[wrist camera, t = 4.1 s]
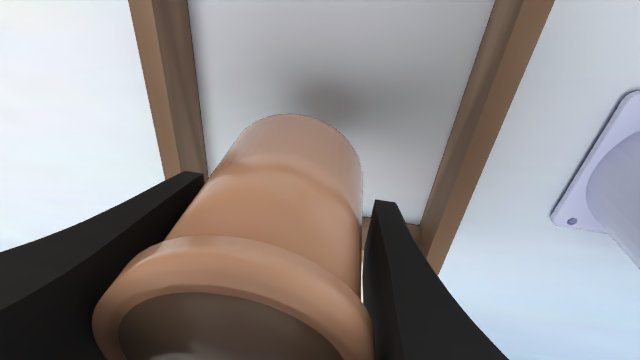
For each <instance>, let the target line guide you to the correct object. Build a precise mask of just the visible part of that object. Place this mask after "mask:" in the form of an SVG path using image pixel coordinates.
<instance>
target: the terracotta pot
mask: <svg viewBox="0 0 640 360" xmlns="http://www.w3.org/2000/svg"><path fill="white" fill-rule="evenodd" d="M362 196H363V174H362V167H361V163H360V160H359V157H358V155H357V153H356V151H355V150H354V148H353V147H352V145H351V144H350V142H349V141H348V140H347V139H346V138H345V137H344V136H343V135H342V134H341V133H340V132H338V131H337V130H336V129H335V128H333V127H331V126H330V125H328V124H326V123H324V122H322V121H320V120H318V119H315V118H312V117H308V116H303V115H298V114H279V115H274V116H269V117H266V118H263V119H261V120H259V121H257V122H255V123H253V124H252V125H250V126H249V127H247V128H246V129H245V130H244V131H243V132H242V133H241V134H240V136H239V137H238V138H237V140H236V141H235V142H234V144H233V145H232V147H231V148H230V149H229V151H228V152H227V154H226V155H225V156H224V158H223V159H222V160H221V162H220V163H219V165H218V166H217V167H216V169H215V170H214V172H213V173H212V174H211V176H210V177H209V179H208V180H207V181H206V183H205V184H204V186H203V187H202V188H201V190H200V191H199V193H198V194H197V195H196V197H195V198H194V199H193V201H192V202H191V204H190V205H189V206H188V208H187V209H186V211H185V212H184V213H183V215H182V216H181V218H180V219H179V220H178V222H177V223H176V225H175V226H174V227H173V229H172V230H171V232H170V233H169V234H168V236H167V237H166V238H165V240H164V241H163V242H161V243H158V244H156V245H153V246H151V247H149V248H147V249H145V250H144V251H142V252H140V253H139V254H137V255H136V256H135V257H134V258H133V259H132V260H131V261H130V262H129V263H128V264H127V265H126V267H125V268H124V269H123V270H122V272H121V273H120V274H119V276H118V277H117V278H116V279H115V281H114V282H113V283H112V285H111V286H110V287H109V288H108V290H107V291H106V292H105V294H104V295H103V296H102V297H101V299H100V300H99V302H98V303H97V305H96V306H95V309H94V312H93V315H92V330H93V336H94V338H95V341H96V343H97V345H98V347H99V349H100V350H101V352H102V354H103V355H104V357H105V358H106V359H107V360H375V331H374V327H373V323H372V319H371V317H370V315H369V313H368V311H367V309H366V307H365V306H364V305H363V303H362V302H361V270H362Z"/></svg>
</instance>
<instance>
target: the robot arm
mask: <svg viewBox="0 0 640 360" xmlns="http://www.w3.org/2000/svg"><path fill="white" fill-rule="evenodd" d="M204 184H205V182H204V174H203V173H197V172H190V171H184V172H181V173H179V174H177V175H175V176H173V177H171V178H169V179H167V180H165V181H163V182H161V183H160V184H158V185H156V186H154V187H152V188H150V189H148V190H146V191H144V192H143V193H141V194H139V195H137V196H135V197H133V198H131V199H129V200H127V201H125V202H123V203H121V204H119V205H117V206H115V207H113V208H111V209H109V210H107V211H105V212H102V213H100V214H98V215H96V216H94V217H92V218H90V219H88V220H86V221H83V222H81V223H79V224H76V225H74V226H72V227H69V228H67V229H64V230H62V231H59V232H57V233H54V234H52V235H49V236H46V237H44V238H41V239H38V240H36V241H33V242H30V243H27V244H24V245H21V246H18V247H15V248H12V249H9V250H6V251H3V252H0V360H107V359H106V358H105V357H104V355H103V354H102V352H101V350H100V349H99V347H98V345H97V343H96V341H95V338H94V336H93V330H92V315H93V312H94V309H95V306H96V305H97V303H98V302H99V300H100V299H101V297H102V296H103V295H104V294H105V292H106V291H107V290H108V288H109V287H110V286H111V285H112V283H113V282H114V281H115V279H116V278H117V277H118V276H119V274H120V273H121V272H122V270H123V269H124V268H125V267H126V265H127V264H128V263H129V262H130V261H131V260H132V259H133V258H134V257H135V256H136V255H137V254H139V253H140V252H142V251H144V250H145V249H147V248H149V247H151V246H153V245H156V244H158V243H161V242H163V241H164V240H165V238H166V237H167V236H168V234H169V233H170V232H171V230H172V229H173V227H174V226H175V225H176V223H177V222H178V220H179V219H180V218H181V216H182V215H183V213H184V212H185V211H186V209H187V208H188V206H189V205H190V204H191V202H192V201H193V199H194V198H195V197H196V195H197V194H198V193H199V191H200V190H201V188H202V187H203V186H204ZM571 218H573V219H572V220H569V219H571ZM568 220H569V221H568ZM551 221H552V222H553V223H554V224H555V225H556V226H561V227H567V228H574V229H580V230H587V231H594V232H600V233H607V234H610V236H611V237H612V238H613V239H614V240H615V241H616V243H617V244H618V245H619V246H620V247H621V248H622V250H623V251H624V252H625V253H626V254H627V255H628V257H629V258H630V259H631V260H632V261H633V262H634V264H635V265H636V266H637V267H638V268H639V269H640V91H635V92H632V93H630V94H628V95H627V96H625V97H624V99H623V100H622V101H621V103H620V104H619V106H618V108H617V109H616V111H615V113H614V114H613V116H612V117H611V119H610V121H609V122H608V124H607V126H606V127H605V129H604V130H603V132H602V134H601V135H600V137H599V139H598V140H597V142H596V143H595V145H594V147H593V148H592V150H591V152H590V153H589V155H588V156H587V158H586V160H585V161H584V163H583V165H582V166H581V168H580V169H579V171H578V173H577V174H576V176H575V178H574V179H573V181H572V182H571V184H570V186H569V187H568V189H567V191H566V192H565V194H564V195H563V197H562V199H561V200H560V202H559V204H558V205H557V207H556V208H555V210H554V212H553V213H552V215H551ZM362 286H363V305H364V306H365V307H366V309H367V311H368V313H369V315H370V317H371V319H372V323H373V327H374V331H375V360H509V359H508V358H507V357H506V356H505V355H504V354H503V353H502V352H501V351H500V350H499V349H498V348H497V347H496V346H495V345H494V344H493V343H492V342H491V340H490V339H489V338H488V337H487V336H486V335H485V334H484V333H483V332H482V331H481V330H480V329H479V328H478V327H477V325H476V324H475V323H474V322H473V321H472V320H471V319H470V317H469V316H468V315H467V314H466V313H465V312H464V310H463V309H462V308H461V307H460V305H459V304H458V303H457V302H456V300H455V299H454V298H453V297H452V295H451V294H450V293H449V291H448V290H447V289H446V287H445V286H444V284H443V283H442V282H441V280H440V279H439V277H438V276H437V274H436V273H435V271H434V270H433V269H432V267H431V266H430V264H429V262H428V261H427V259H426V258H425V256H424V254H423V253H422V251H421V249H420V248H419V246H418V244H417V243H416V241H415V239H414V237H413V236H412V234H411V232H410V230H409V228H408V226H407V224H406V222H405V221H404V219H403V217H402V214H401V212H400V210H399V208H398V206H397V205H396V203H395V202H388V201H381V200H375V202H374V207H373V211H372V216H371V220H370V224H369V229H368V233H367V238H366V242H365V247H364V258H363V272H362Z"/></svg>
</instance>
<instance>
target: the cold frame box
mask: <svg viewBox="0 0 640 360" xmlns="http://www.w3.org/2000/svg"><path fill="white" fill-rule="evenodd" d="M554 1H555V0H496V1H495V4H494V7H493V9H492V12H491V15H490V18H489V21H488V24H487V27H486V30H485V33H484V36H483V39H482V42H481V45H480V48H479V51H478V54H477V57H476V60H475V63H474V66H473V69H472V72H471V75H470V78H469V81H468V84H467V87H466V90H465V93H464V96H463V98H462V101H461V104H460V107H459V110H458V113H457V116H456V119H455V122H454V125H453V128H452V131H451V134H450V137H449V140H448V143H447V146H446V149H445V152H444V155H443V158H442V161H441V164H440V167H439V170H438V173H437V176H436V179H435V182H434V185H433V187H432V190H431V193H430V196H429V199H428V202H427V205H426V208H425V211H424V214H423V217H422V220H421V223H420V226H418V225H412V224H407V226H408V228H409V230H410V232H411V234H412V236H413V237H414V239H415V241H416V243H417V244H418V246H419V248H420V249H421V251H422V253H423V254H424V256H425V258H426V259H427V261H428V262H429V264H430V266H431V267H432V269H433V270H434V271H435V273H436V274H437V275H438V274H439V272H440V270H441V267H442V265H443V263H444V260H445V258H446V255H447V253H448V251H449V248H450V246H451V244H452V241H453V239H454V237H455V234H456V232H457V230H458V227H459V225H460V222H461V220H462V218H463V215H464V213H465V211H466V208H467V206H468V204H469V201H470V199H471V197H472V194H473V192H474V190H475V187H476V185H477V182H478V180H479V178H480V175H481V173H482V171H483V168H484V166H485V164H486V161H487V159H488V157H489V154H490V152H491V150H492V147H493V145H494V142H495V140H496V138H497V135H498V133H499V131H500V128H501V126H502V124H503V121H504V119H505V117H506V114H507V112H508V109H509V107H510V105H511V102H512V100H513V98H514V95H515V93H516V91H517V88H518V86H519V84H520V81H521V79H522V77H523V74H524V72H525V69H526V67H527V65H528V62H529V60H530V58H531V55H532V53H533V51H534V48H535V46H536V44H537V41H538V39H539V37H540V34H541V32H542V29H543V27H544V25H545V22H546V20H547V18H548V15H549V13H550V11H551V8H552V6H553V4H554ZM128 2H129V7H130V11H131V16H132V21H133V26H134V31H135V36H136V40H137V45H138V50H139V55H140V60H141V65H142V70H143V74H144V79H145V84H146V89H147V94H148V99H149V103H150V108H151V113H152V118H153V123H154V128H155V132H156V137H157V142H158V147H159V152H160V157H161V161H162V166H163V171H164V176H165V180H167V179H169V178H171V177H173V176H175V175H177V174H179V173H181V172H184V171H190V172H197V173H203V174H204V182H205V183H206V181H207V180H208V172H207V164H206V156H205V147H204V139H203V131H202V122H201V114H200V106H199V97H198V89H197V81H196V72H195V64H194V55H193V47H192V39H191V30H190V22H189V14H188V5H187V0H128ZM370 220H371V218H366V217H362V263H363V258H364V247H365V242H366V238H367V233H368V229H369V224H370Z"/></svg>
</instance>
